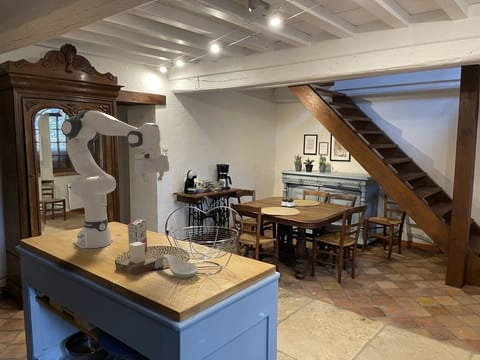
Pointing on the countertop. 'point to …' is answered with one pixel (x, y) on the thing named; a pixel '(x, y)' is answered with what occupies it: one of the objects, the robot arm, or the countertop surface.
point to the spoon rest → (178, 266)
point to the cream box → (137, 252)
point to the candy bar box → (137, 232)
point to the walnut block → (136, 266)
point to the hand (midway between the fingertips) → (152, 181)
